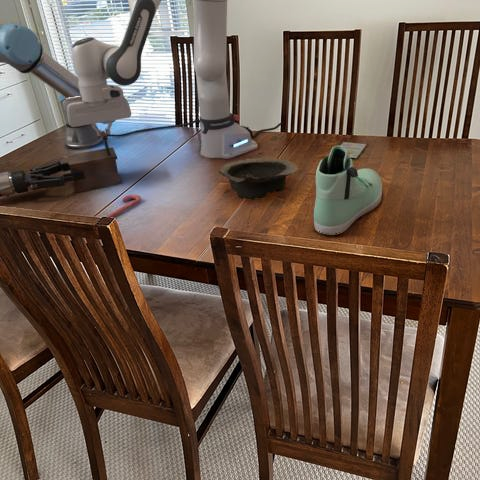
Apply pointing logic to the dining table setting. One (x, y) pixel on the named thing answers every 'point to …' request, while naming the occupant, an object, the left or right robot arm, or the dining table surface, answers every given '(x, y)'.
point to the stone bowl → (257, 176)
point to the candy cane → (126, 205)
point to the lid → (93, 155)
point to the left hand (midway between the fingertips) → (82, 169)
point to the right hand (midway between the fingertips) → (104, 134)
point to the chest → (97, 176)
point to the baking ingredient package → (353, 148)
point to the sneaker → (343, 192)
